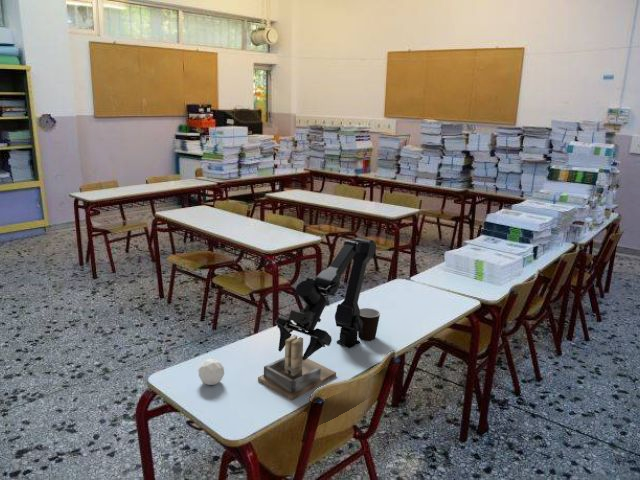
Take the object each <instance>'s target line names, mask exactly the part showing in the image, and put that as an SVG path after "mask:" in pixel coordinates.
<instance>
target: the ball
mask: <svg viewBox="0 0 640 480" xmlns="http://www.w3.org/2000/svg"><path fill="white" fill-rule="evenodd" d="M224 368H225V367H224V366H223V364H222V363H221V361H220V360H217V359H215V358H208V359H206V360H205V361H202V362H201V364H200V366H199V368H198V370H197V371H198V377H199V379H200V381H201V383H203V384H205V385H207V386H215V385H217V384H218V383H220V382H221V381H222V379H223V378H224V375H225V369H224Z"/></svg>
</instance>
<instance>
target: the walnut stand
mask: <svg viewBox="0 0 640 480" xmlns="http://www.w3.org/2000/svg"><path fill="white" fill-rule="evenodd" d="M284 365H285V356H284V357H282V358H280V359H278V360H275V361H273V362H271V363H269V364H267V365H265V366H263V374H262V375H260V376H258V377H257V381H258V382H260V383H261V384H263V385H265V386H266V387H268V388H270V389H272V390H273V391H275V392H277V393H279V394H281V395H282V396H284V397H286V398H287V399H289V400H291V401H293V400H296V399H297V398H299V397H300V396H301V395H303V394H305V393H307V392H309V391H310V390H313V389H314V388H316V387H318V386H320V385H322V384H323V383H325V382H327V381H329V380H332V379H333V378H334V377H336V376H337V372H336V371H335V370H332V369H331V368H328V367H326V366H324V365H322V364H320V363H318V362H316V361H314V360H311V359H309V357H308V358H307V359H306V360H305V361H304V360H303V366H302V376H300V377H298V378H296V379H295V380H292V379H290V378H289V377H287V376H285V368H284Z"/></svg>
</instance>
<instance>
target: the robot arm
mask: <svg viewBox="0 0 640 480" xmlns="http://www.w3.org/2000/svg"><path fill="white" fill-rule="evenodd" d="M376 250H377V243H375V240H373V239H369V238H364V237H360V236H356V237H355V238H352V239H351V238H348V239H346V240H345V241H344V242H343V246H342V247H341V249H340V250H339V251H338V253H337V255H336V256H335V258H334V259H333V260H332V262H331V264H330V265H329V267H327V268H326V269H323V270H322V271H320V273H318V275H316V277H315V278H312V277H306V280H303V281H300V282H298V284H297V285H296V287H295V293H296V295H297V296H298V298H300V300H301V301H303V303H304V304H305V306H304V308H303V307H301V309H300V310H299V311H297V310H294V309H290V312H289V314H288V317H284V316H281V315H279V316H278V317H277V318H276V320H275V322H274V323H275V324H276V326H277V328H278V329H279V343H278V352H282V351H283V349H285V340H287V339H288V338H290V337H292V336H293V334H292V332H293V331H294V332H298V333H301V334H304V335H306V336H309V338H310V339H309V343H308V346H307V348H306V349H305V352H303V353H304V354H303V358H302V360H304V361H305V360H306V359H307V358H308V359H309V357H311V356H312V355H313V354H314V353H315V352H317V351H318V350H320V349H321V348H325V347H326V346H328V347H329V346H331V344H332V341H333V340H332V339H333V338H332V336H331V335H330V334H329V332H327V330H323V329H321V328H318V327H316V326H317V324H318V323H321V321H322V319H321V316H322V314H323V312H324V310H325V308H326V306H328V307H329V306H330V301H329V297H327V296H334V295H335V294H336V293H337V292H338V290H339V287H340V285H341V277H342V275H343V274H344V272H345V270H346V269H347V267H348V266H349V264H351V262H352V266H351V270H350V275H349V277H348V283H347V287H346V290H345V295H344V300H343V301H342V302H341V303H338V304H337V305H336V310H335V314H334V319H335V326H336V327H339V328H340V332H339V339H337V340H336V343H337V344H338V345H341V346H343V347H346V348H348V349H352V348H354V347H355V346H357V345H359V344H361V341H360V340H358V331H361V329H362V328H363V321H362V320H361V319H360V317H359V316H360V309H361V308H360V307H359V303H358V302H359V299H360V295H361V291H362V286H363V281H364V277H365V274H366V273H365V272H366V269H367V264H368V263H369V262H371V260H372V259H373V258H374V254H375V252H376ZM325 295H326V296H325Z"/></svg>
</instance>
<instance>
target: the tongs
mask: <svg viewBox="0 0 640 480" xmlns="http://www.w3.org/2000/svg"><path fill="white" fill-rule="evenodd" d="M303 353H304V337H298V336H297V335H295V334H293V335H291V337H290V338H288V339H287V340H285V346H284V357H285V365H284V368H285V376H287V377H289V378H290V379H292V380H295V379H296V378H298V377H300V376H302V366H303V360H302V358H303V355H304V354H303Z"/></svg>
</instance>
